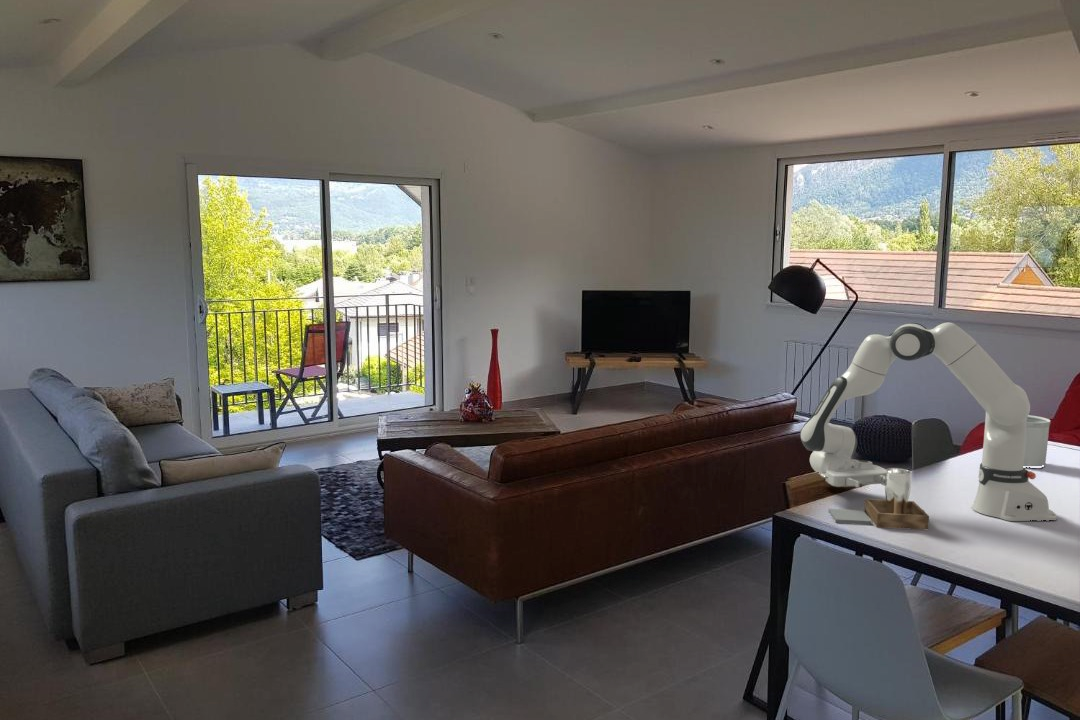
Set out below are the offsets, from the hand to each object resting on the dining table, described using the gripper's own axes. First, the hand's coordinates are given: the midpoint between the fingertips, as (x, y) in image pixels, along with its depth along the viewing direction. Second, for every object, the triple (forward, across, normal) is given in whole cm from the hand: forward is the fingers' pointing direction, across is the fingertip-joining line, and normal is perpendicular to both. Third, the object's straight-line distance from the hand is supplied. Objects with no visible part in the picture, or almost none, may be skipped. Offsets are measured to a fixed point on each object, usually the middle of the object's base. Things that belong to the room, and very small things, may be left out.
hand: (873, 484), depth 255 cm
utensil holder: (-35, +91, +8) cm, 97 cm away
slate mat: (+6, -12, +8) cm, 16 cm away
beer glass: (+11, 0, +8) cm, 14 cm away
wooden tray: (+11, 0, +8) cm, 13 cm away
